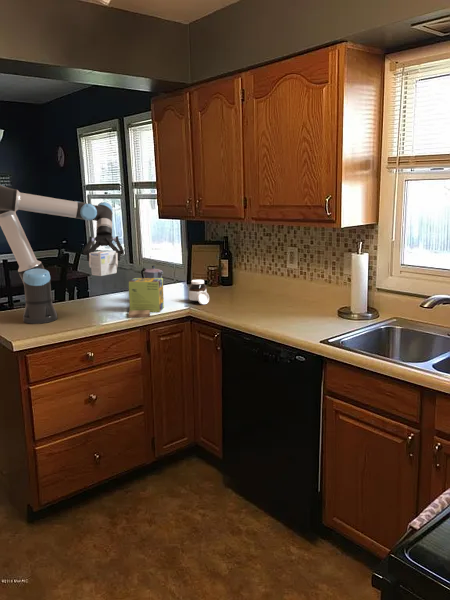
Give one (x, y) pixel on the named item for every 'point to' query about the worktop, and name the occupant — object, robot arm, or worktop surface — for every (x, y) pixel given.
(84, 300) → the worktop surface
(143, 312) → the walnut coaster board
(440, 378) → the worktop surface
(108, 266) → the light bulb box
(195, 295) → the spread jar
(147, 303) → the protein box
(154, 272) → the moka pot
